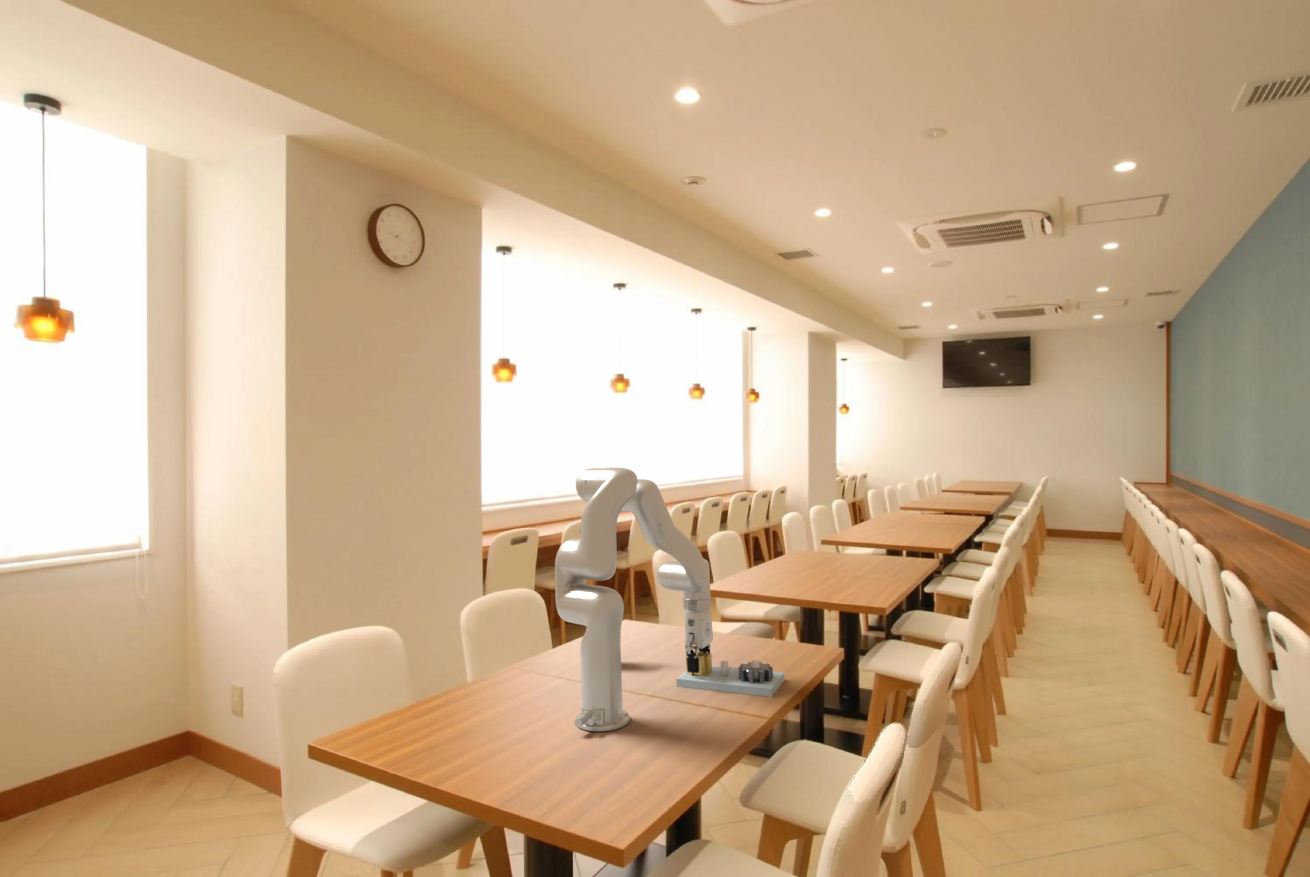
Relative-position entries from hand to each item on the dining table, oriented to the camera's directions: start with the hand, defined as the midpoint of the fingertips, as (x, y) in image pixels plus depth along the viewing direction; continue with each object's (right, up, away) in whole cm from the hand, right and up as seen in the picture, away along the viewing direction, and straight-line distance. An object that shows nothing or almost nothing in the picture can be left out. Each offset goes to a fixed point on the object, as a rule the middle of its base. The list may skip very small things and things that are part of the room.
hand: (699, 667), depth 195 cm
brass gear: (0, -1, 0) cm, 1 cm away
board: (+8, -3, -4) cm, 10 cm away
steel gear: (+15, -1, -6) cm, 16 cm away
